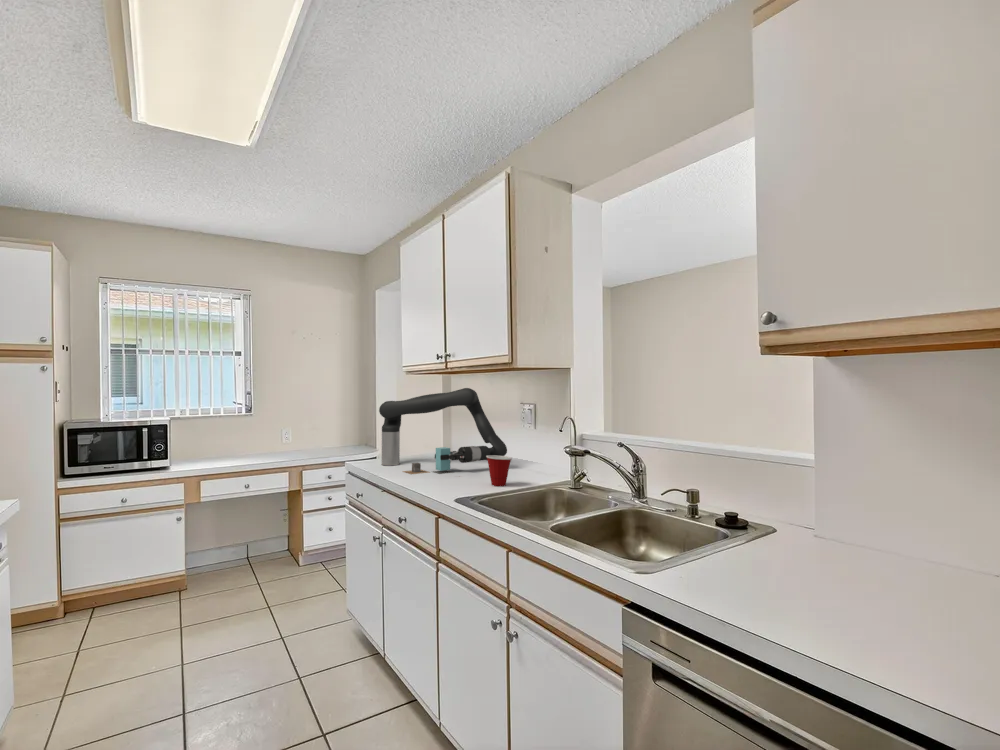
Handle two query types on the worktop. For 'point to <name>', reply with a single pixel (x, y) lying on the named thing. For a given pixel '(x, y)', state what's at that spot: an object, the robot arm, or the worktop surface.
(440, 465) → the teal block
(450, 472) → the coaster mat
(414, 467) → the walnut base
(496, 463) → the plastic cup
